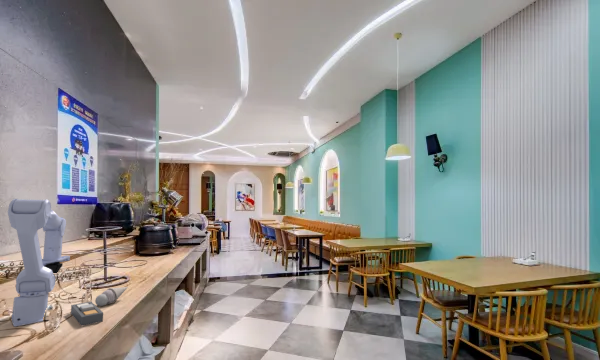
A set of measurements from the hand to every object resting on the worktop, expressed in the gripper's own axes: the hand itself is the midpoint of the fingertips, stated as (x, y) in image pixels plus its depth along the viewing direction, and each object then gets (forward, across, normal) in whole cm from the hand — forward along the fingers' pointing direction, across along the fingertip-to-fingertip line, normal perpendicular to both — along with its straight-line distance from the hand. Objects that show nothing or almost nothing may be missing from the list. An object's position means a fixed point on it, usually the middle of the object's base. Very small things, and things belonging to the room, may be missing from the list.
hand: (50, 282), depth 128 cm
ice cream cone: (+10, +11, -19) cm, 24 cm away
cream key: (+7, -3, -18) cm, 20 cm away
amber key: (+8, -9, -26) cm, 29 cm away
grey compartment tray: (+9, -6, -22) cm, 25 cm away
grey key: (+7, -6, -22) cm, 24 cm away
